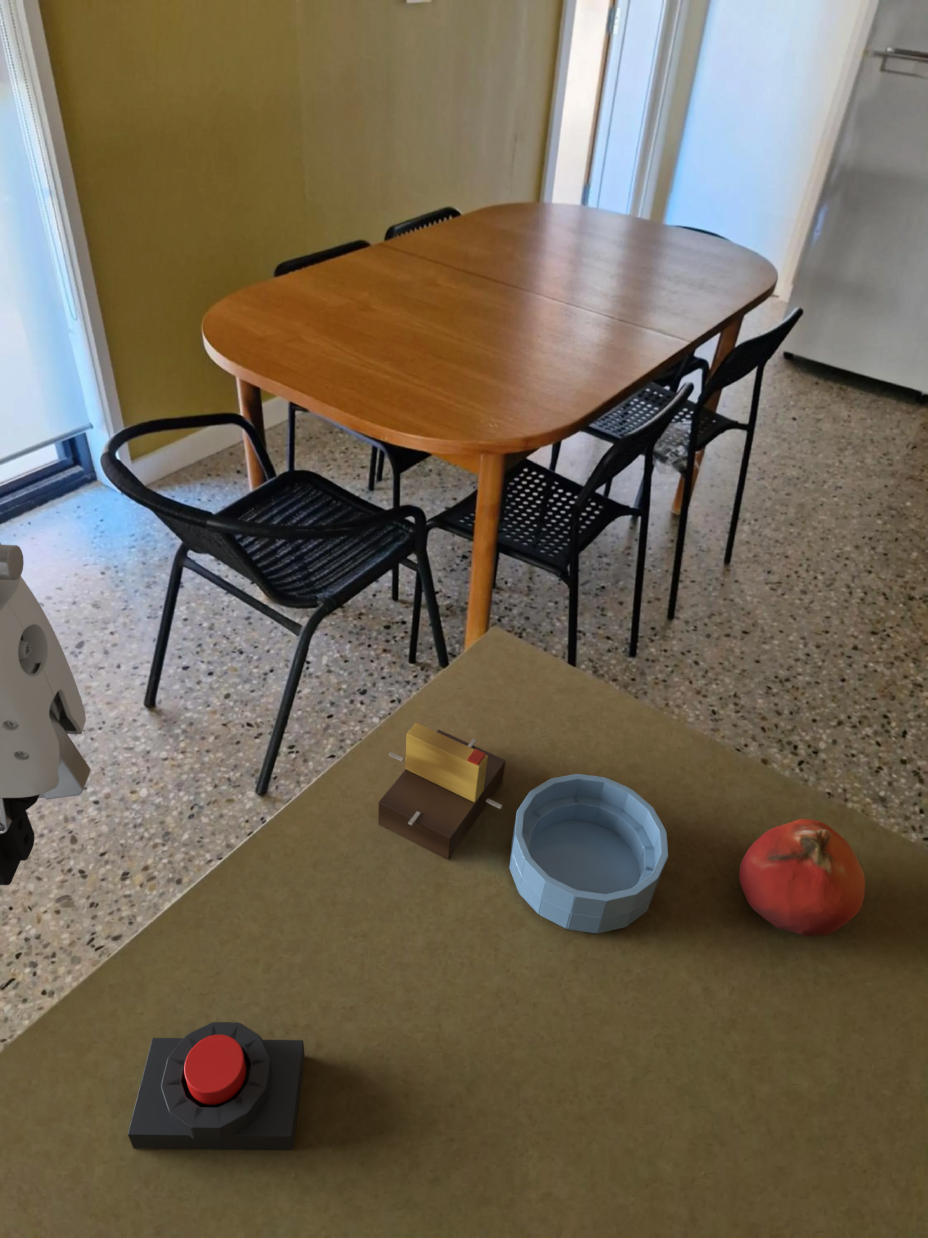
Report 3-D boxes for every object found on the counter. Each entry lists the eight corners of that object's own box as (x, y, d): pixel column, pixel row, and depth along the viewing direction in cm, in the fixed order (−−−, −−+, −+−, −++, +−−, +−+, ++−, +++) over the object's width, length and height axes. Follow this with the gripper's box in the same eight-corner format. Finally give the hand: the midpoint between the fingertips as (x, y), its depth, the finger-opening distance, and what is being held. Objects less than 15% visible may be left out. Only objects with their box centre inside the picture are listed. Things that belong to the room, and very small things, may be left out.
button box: (132, 1153, 56) (120, 1127, 53) (158, 1049, 61) (149, 1020, 58) (292, 1155, 56) (289, 1129, 54) (305, 1051, 61) (302, 1023, 59)
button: (181, 1105, 55) (177, 1093, 54) (194, 1046, 57) (191, 1033, 56) (240, 1106, 55) (238, 1093, 54) (250, 1047, 58) (248, 1034, 57)
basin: (623, 963, 68) (636, 927, 65) (483, 890, 72) (488, 853, 69) (674, 850, 76) (687, 813, 73) (546, 791, 81) (554, 754, 77)
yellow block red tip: (404, 769, 78) (406, 731, 75) (414, 757, 79) (416, 720, 76) (475, 803, 75) (479, 765, 72) (483, 790, 76) (488, 753, 73)
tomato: (857, 890, 75) (892, 831, 70) (833, 977, 68) (870, 919, 63) (749, 840, 78) (775, 780, 73) (717, 919, 72) (743, 859, 66)
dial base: (466, 877, 73) (469, 853, 71) (353, 818, 77) (353, 795, 75) (526, 787, 81) (530, 764, 79) (421, 738, 85) (422, 715, 83)
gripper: (110, 522, 37) (172, 806, 48) (-267, 504, 36) (-112, 797, 47) (46, 640, 31) (134, 931, 42) (-405, 621, 30) (-190, 924, 42)
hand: (4, 860), depth 45 cm, fingers closed
